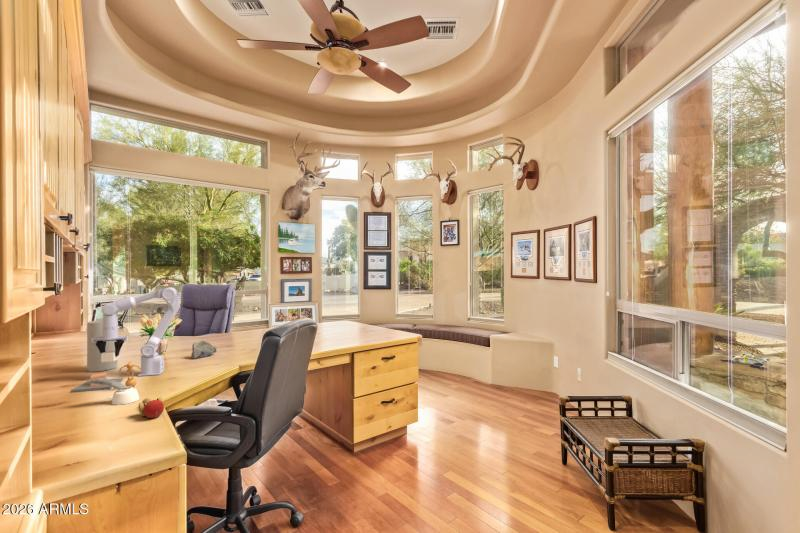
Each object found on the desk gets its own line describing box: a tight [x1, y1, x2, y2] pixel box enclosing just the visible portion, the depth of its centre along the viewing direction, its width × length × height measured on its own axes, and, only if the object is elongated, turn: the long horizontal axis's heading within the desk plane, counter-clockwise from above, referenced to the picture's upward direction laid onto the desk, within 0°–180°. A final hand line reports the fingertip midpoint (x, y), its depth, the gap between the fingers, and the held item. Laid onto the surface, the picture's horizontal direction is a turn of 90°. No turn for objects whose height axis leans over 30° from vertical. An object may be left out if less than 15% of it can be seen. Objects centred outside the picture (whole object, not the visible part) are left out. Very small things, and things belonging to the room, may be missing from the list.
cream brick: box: [101, 351, 120, 362], centre depth 179 cm, size 5×6×4 cm
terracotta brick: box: [89, 371, 107, 386], centre depth 167 cm, size 5×6×4 cm
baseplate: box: [70, 377, 124, 393], centre depth 166 cm, size 14×14×1 cm
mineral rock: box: [191, 340, 218, 360], centre depth 222 cm, size 13×11×10 cm
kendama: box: [138, 396, 165, 419], centre depth 135 cm, size 8×6×18 cm
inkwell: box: [82, 378, 141, 406], centre depth 145 cm, size 9×18×10 cm, turn 118°
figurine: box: [118, 360, 142, 388], centre depth 163 cm, size 8×6×12 cm
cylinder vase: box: [86, 319, 119, 373], centre depth 196 cm, size 12×12×25 cm
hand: (110, 356), depth 179 cm, fingers open, 5 cm apart
